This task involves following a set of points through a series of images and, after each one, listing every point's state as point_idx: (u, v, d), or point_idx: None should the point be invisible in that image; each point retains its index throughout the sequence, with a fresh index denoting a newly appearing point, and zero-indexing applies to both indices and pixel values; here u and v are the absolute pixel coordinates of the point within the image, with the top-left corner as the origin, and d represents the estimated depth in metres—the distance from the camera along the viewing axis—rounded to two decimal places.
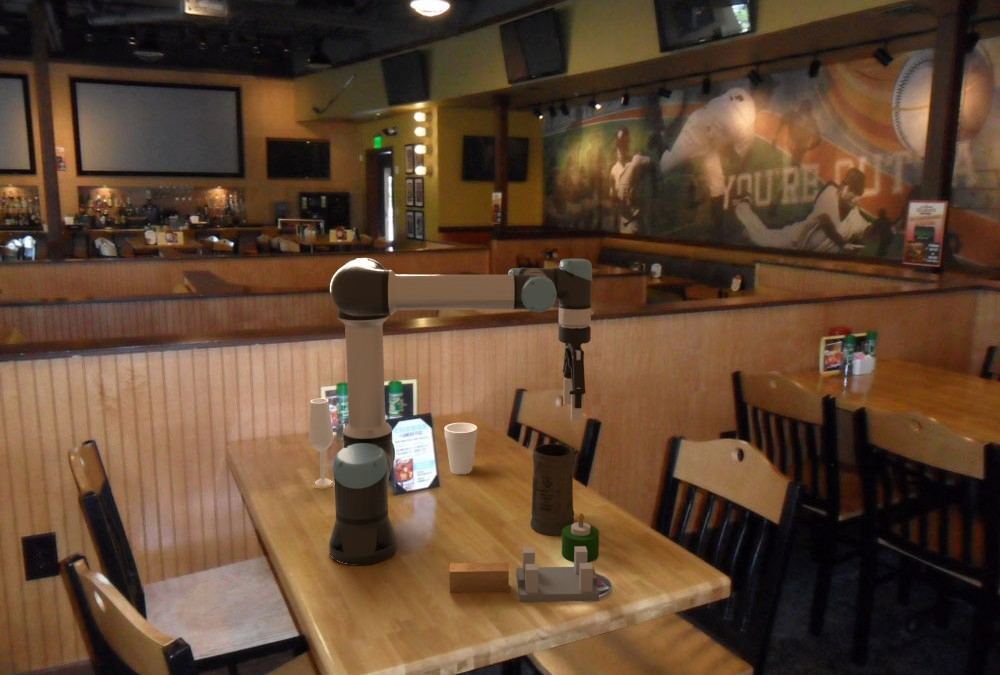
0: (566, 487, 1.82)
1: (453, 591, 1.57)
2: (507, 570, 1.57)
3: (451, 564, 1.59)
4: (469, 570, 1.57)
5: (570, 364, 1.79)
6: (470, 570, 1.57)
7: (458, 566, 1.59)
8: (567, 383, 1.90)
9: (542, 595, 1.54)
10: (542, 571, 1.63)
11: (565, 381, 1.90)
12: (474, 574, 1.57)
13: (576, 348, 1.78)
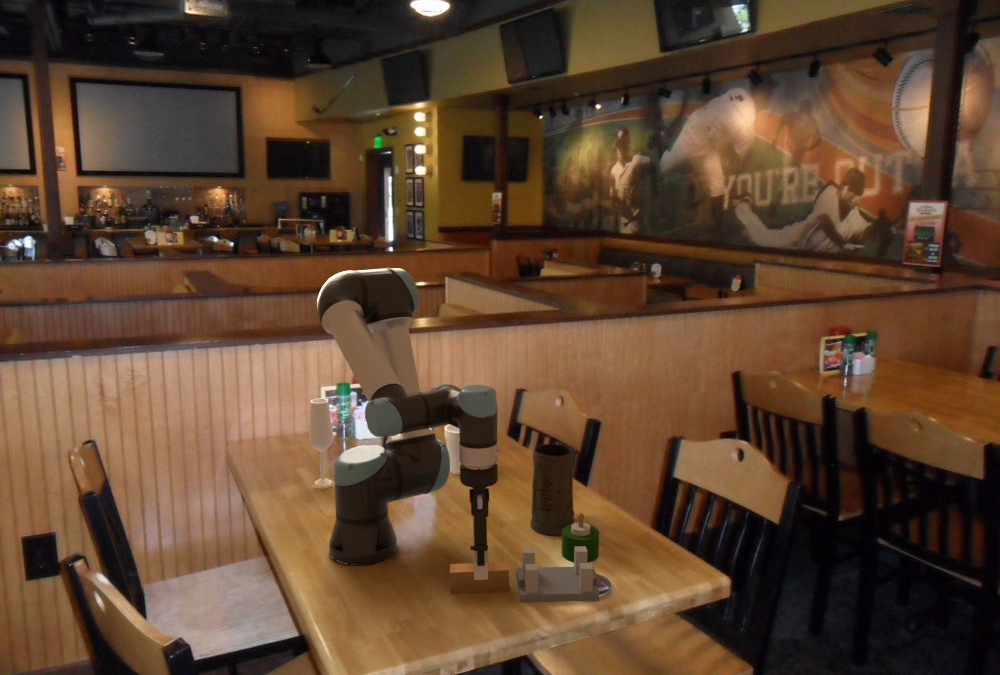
0: (566, 487, 1.82)
1: (454, 592, 1.57)
2: (507, 569, 1.57)
3: (451, 565, 1.59)
4: (470, 570, 1.57)
5: (472, 511, 1.51)
6: (471, 570, 1.57)
7: (458, 566, 1.58)
8: None
9: (542, 595, 1.54)
10: (542, 571, 1.63)
11: (474, 522, 1.63)
12: None
13: (479, 493, 1.51)
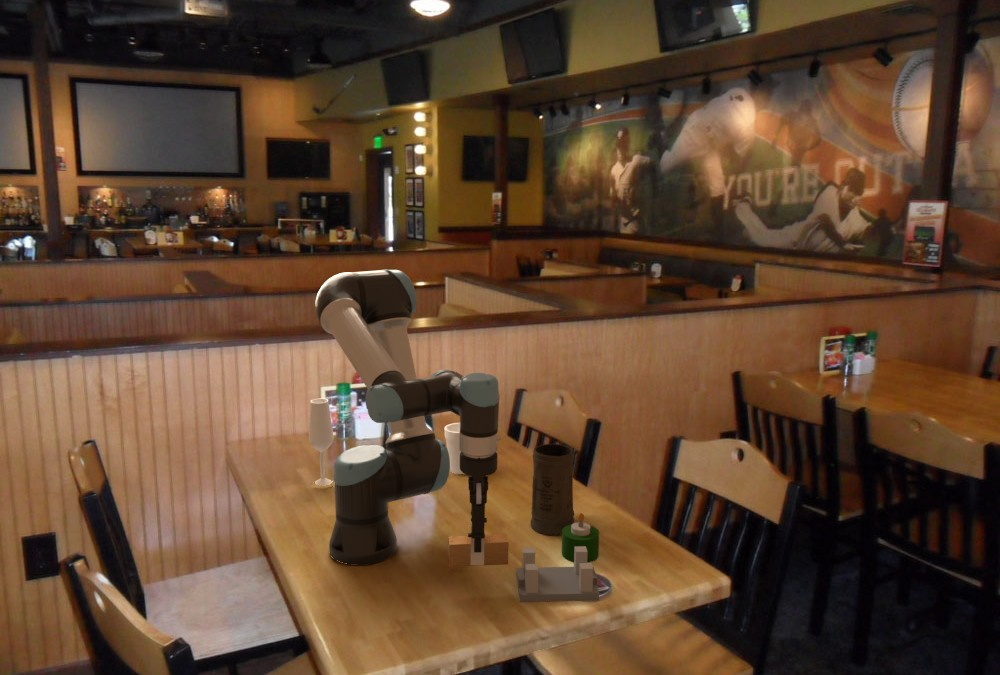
0: (566, 487, 1.82)
1: (453, 564, 1.56)
2: (507, 541, 1.57)
3: (450, 537, 1.58)
4: (469, 542, 1.56)
5: (471, 501, 1.53)
6: (470, 542, 1.56)
7: (457, 538, 1.57)
8: None
9: (542, 595, 1.54)
10: (542, 571, 1.63)
11: (472, 528, 1.59)
12: None
13: (478, 481, 1.51)
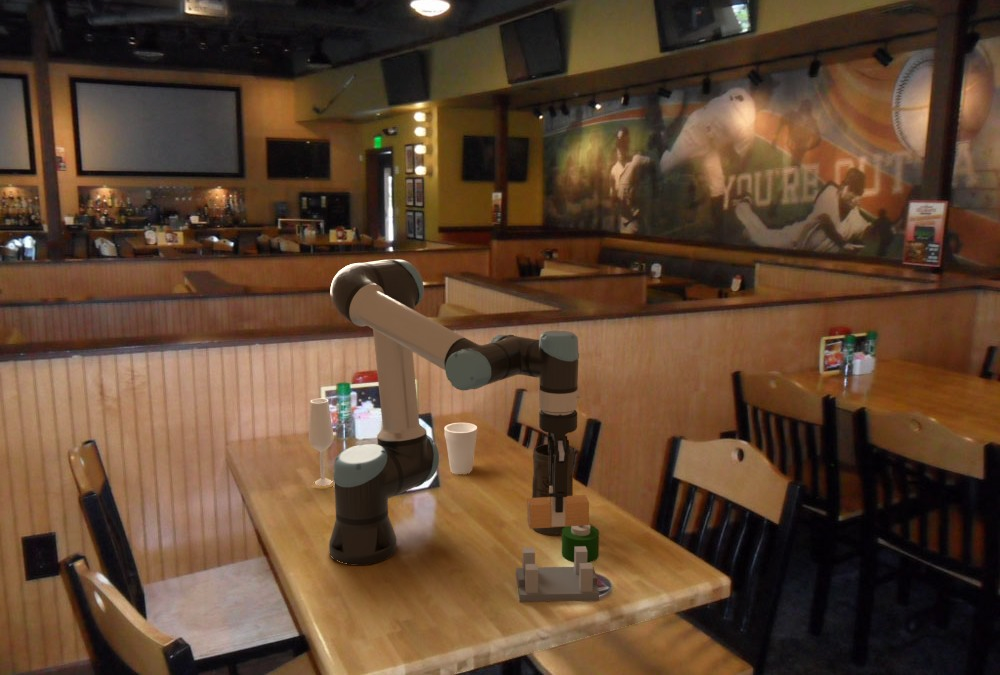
0: None
1: (533, 525, 1.54)
2: (587, 501, 1.55)
3: (529, 499, 1.56)
4: (549, 503, 1.54)
5: (552, 460, 1.51)
6: (550, 503, 1.54)
7: (537, 500, 1.56)
8: (553, 492, 1.57)
9: (542, 595, 1.54)
10: (542, 571, 1.63)
11: (551, 490, 1.57)
12: None
13: (560, 439, 1.49)
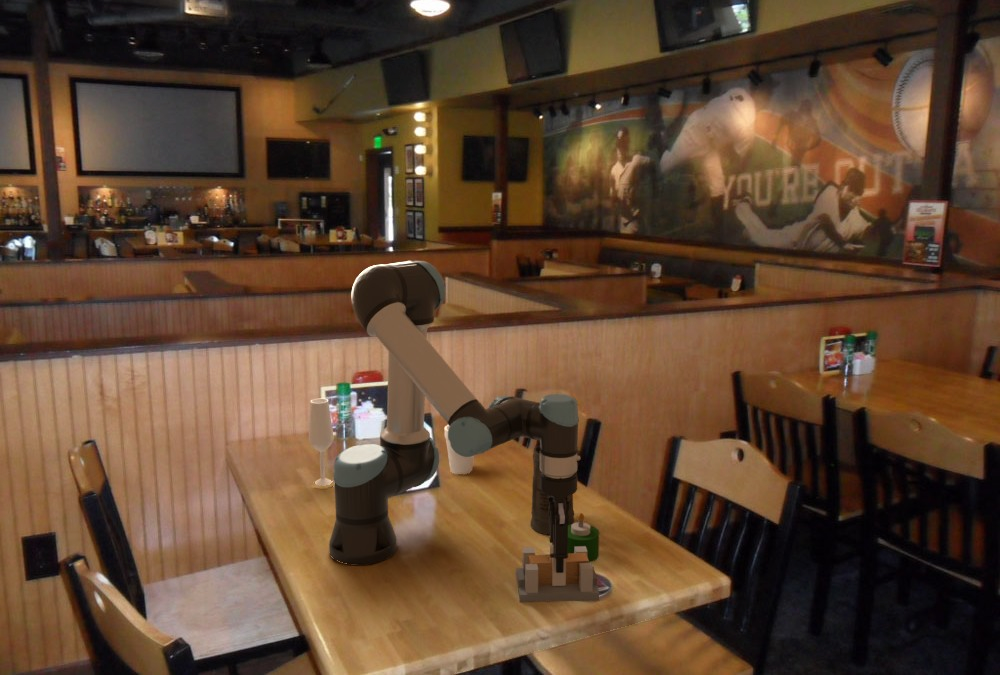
0: None
1: None
2: (587, 560, 1.58)
3: (530, 556, 1.59)
4: (550, 561, 1.57)
5: (552, 521, 1.54)
6: (551, 561, 1.57)
7: (537, 557, 1.58)
8: None
9: (542, 595, 1.54)
10: None
11: (551, 548, 1.60)
12: None
13: (560, 501, 1.52)
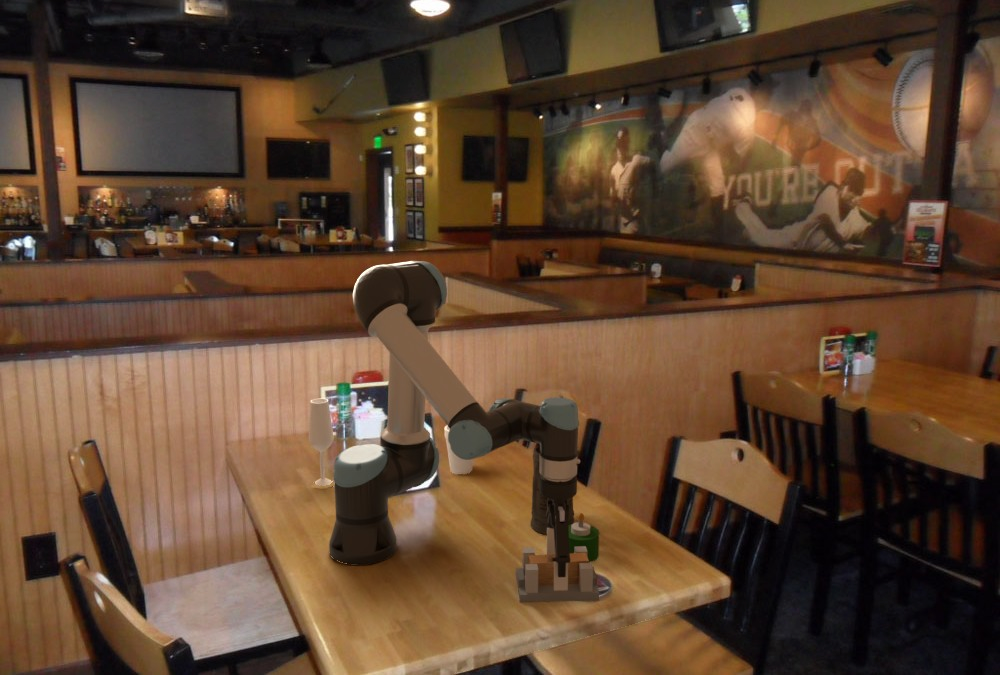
0: None
1: None
2: (587, 560, 1.58)
3: (530, 556, 1.59)
4: (550, 561, 1.57)
5: (553, 523, 1.53)
6: (551, 561, 1.57)
7: (537, 557, 1.58)
8: (550, 534, 1.64)
9: (542, 595, 1.54)
10: None
11: (548, 531, 1.64)
12: None
13: (560, 505, 1.52)
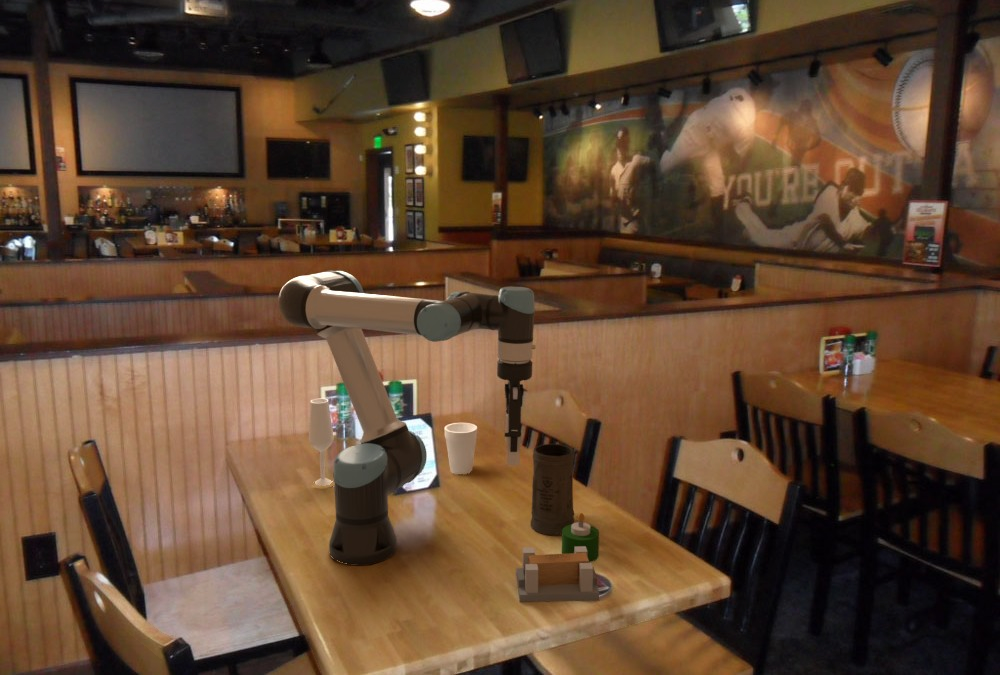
0: (566, 487, 1.82)
1: None
2: (587, 560, 1.58)
3: (530, 556, 1.59)
4: (550, 561, 1.57)
5: (507, 403, 1.63)
6: (551, 561, 1.57)
7: (537, 557, 1.58)
8: None
9: (542, 595, 1.54)
10: None
11: (507, 418, 1.75)
12: (555, 565, 1.57)
13: (514, 385, 1.63)
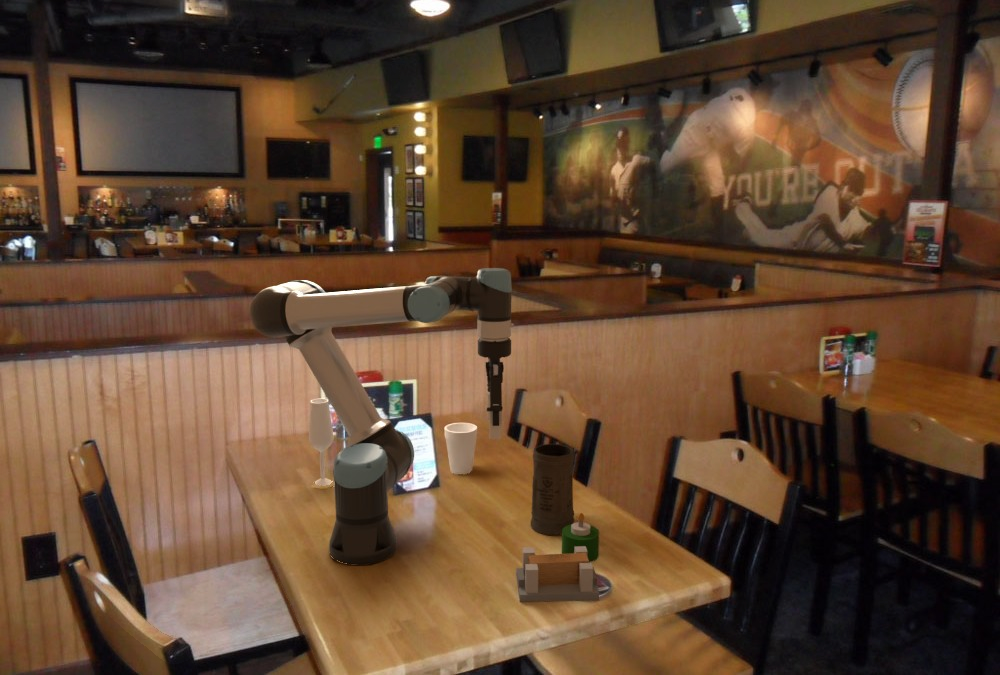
0: (566, 487, 1.82)
1: None
2: (587, 560, 1.58)
3: (530, 556, 1.59)
4: (550, 561, 1.57)
5: (488, 379, 1.70)
6: (551, 561, 1.57)
7: (537, 557, 1.58)
8: None
9: (542, 595, 1.54)
10: None
11: (488, 396, 1.81)
12: (555, 565, 1.57)
13: (495, 362, 1.70)
